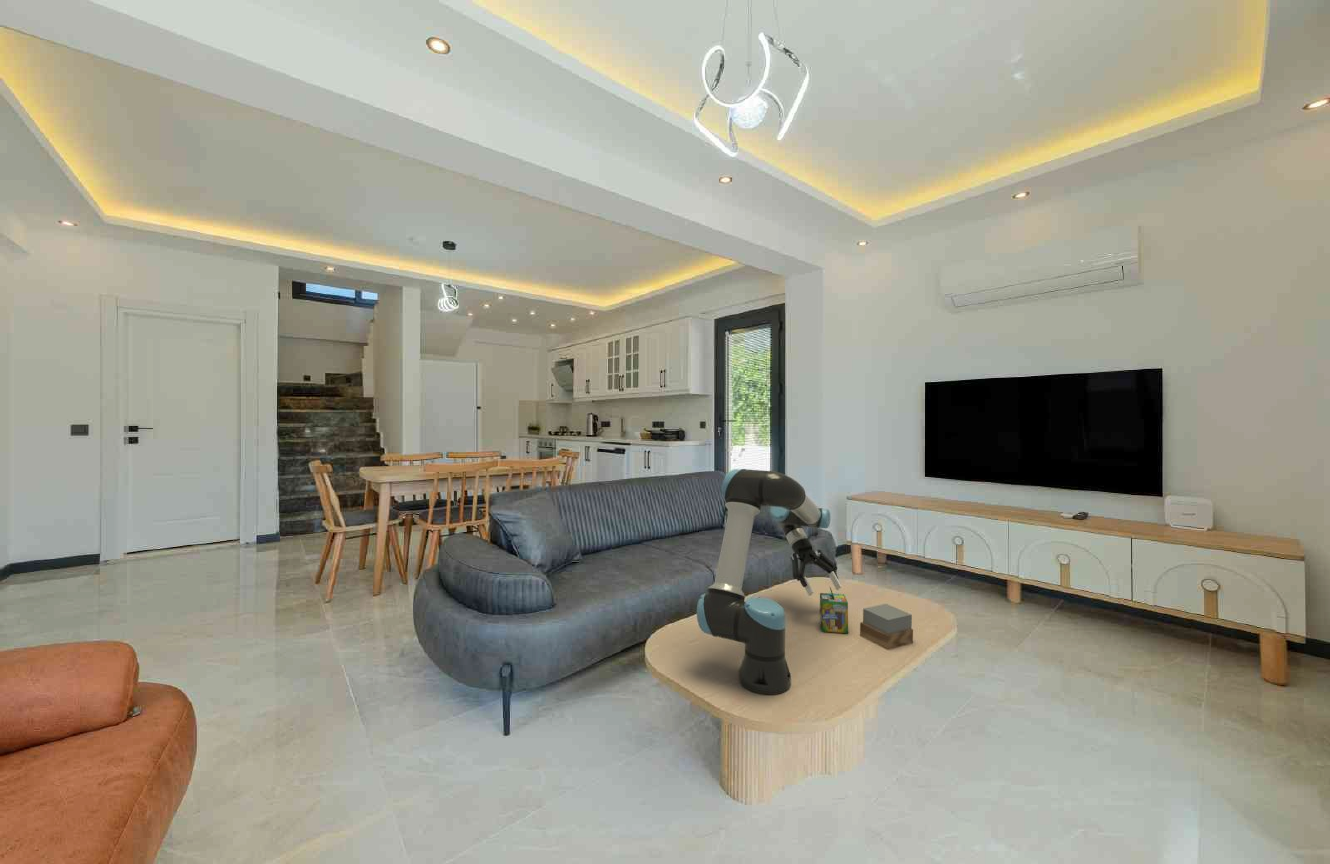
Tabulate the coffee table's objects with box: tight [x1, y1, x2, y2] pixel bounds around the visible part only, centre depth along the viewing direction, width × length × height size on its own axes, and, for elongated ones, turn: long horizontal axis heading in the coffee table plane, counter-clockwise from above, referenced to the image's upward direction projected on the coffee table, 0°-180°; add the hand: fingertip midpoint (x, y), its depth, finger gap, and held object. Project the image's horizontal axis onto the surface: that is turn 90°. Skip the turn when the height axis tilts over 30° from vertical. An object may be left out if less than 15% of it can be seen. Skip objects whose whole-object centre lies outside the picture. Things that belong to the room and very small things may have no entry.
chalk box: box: [819, 586, 849, 634], centre depth 191 cm, size 9×9×15 cm
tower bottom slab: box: [859, 621, 914, 651], centre depth 182 cm, size 12×12×5 cm
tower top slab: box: [862, 603, 913, 635], centre depth 182 cm, size 11×11×5 cm
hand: (825, 591), depth 196 cm, fingers open, 13 cm apart
